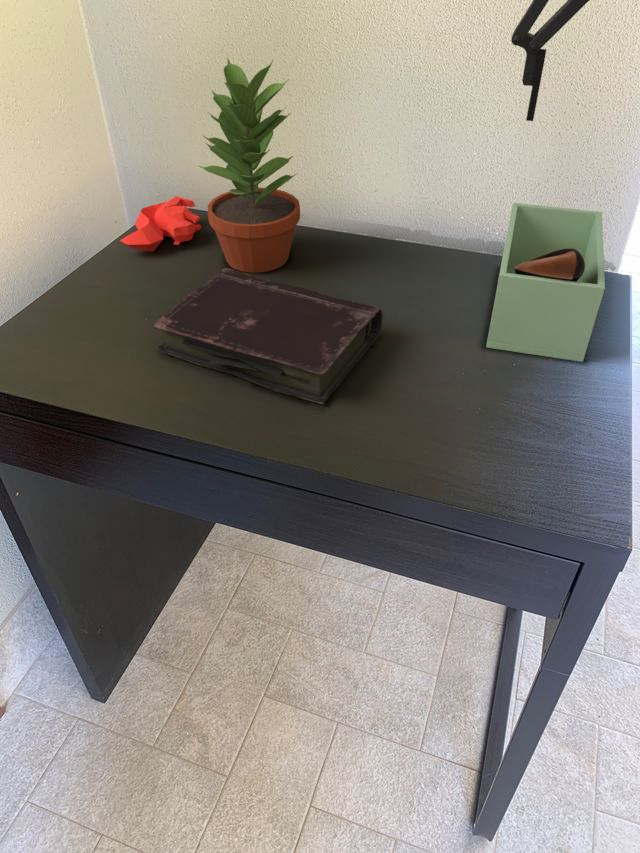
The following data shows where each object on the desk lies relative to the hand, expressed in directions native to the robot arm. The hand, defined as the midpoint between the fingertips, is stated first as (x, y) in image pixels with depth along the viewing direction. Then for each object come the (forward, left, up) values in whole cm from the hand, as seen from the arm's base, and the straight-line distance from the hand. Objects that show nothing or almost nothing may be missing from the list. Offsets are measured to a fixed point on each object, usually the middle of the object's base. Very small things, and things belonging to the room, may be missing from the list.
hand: (594, 122), depth 75 cm
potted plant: (+45, +16, -29) cm, 56 cm away
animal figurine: (+60, +24, -29) cm, 71 cm away
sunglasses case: (+3, -3, -23) cm, 23 cm away
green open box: (+5, -6, -29) cm, 30 cm away
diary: (+23, +29, -29) cm, 47 cm away
